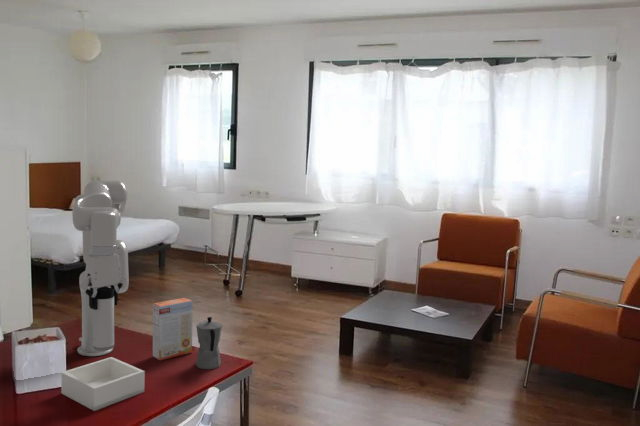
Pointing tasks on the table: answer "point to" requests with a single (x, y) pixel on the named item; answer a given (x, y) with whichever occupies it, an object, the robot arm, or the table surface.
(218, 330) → the coffeepot
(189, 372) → the table surface
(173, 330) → the cracker box
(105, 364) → the bin
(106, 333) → the travel mug
